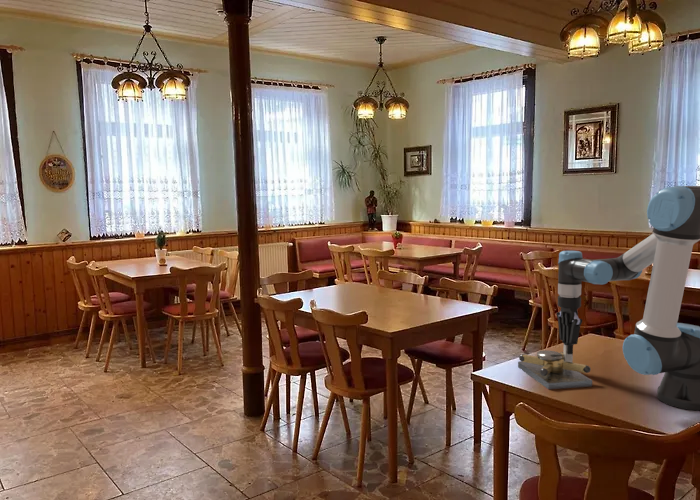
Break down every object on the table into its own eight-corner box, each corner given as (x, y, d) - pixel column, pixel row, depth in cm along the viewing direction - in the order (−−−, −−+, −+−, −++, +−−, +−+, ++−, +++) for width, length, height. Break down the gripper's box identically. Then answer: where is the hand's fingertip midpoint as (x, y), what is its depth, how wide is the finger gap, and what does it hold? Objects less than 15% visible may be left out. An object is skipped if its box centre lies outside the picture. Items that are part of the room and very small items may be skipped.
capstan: (598, 366, 197) (599, 351, 196) (581, 387, 178) (581, 370, 177) (530, 354, 210) (530, 341, 210) (506, 372, 191) (507, 357, 191)
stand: (592, 386, 185) (592, 377, 184) (548, 389, 182) (548, 380, 182) (557, 364, 206) (557, 356, 206) (518, 367, 204) (518, 358, 204)
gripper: (590, 298, 192) (588, 367, 194) (569, 292, 204) (568, 356, 207) (569, 299, 191) (567, 368, 193) (550, 292, 203) (548, 357, 206)
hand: (567, 362), depth 200 cm, fingers closed
